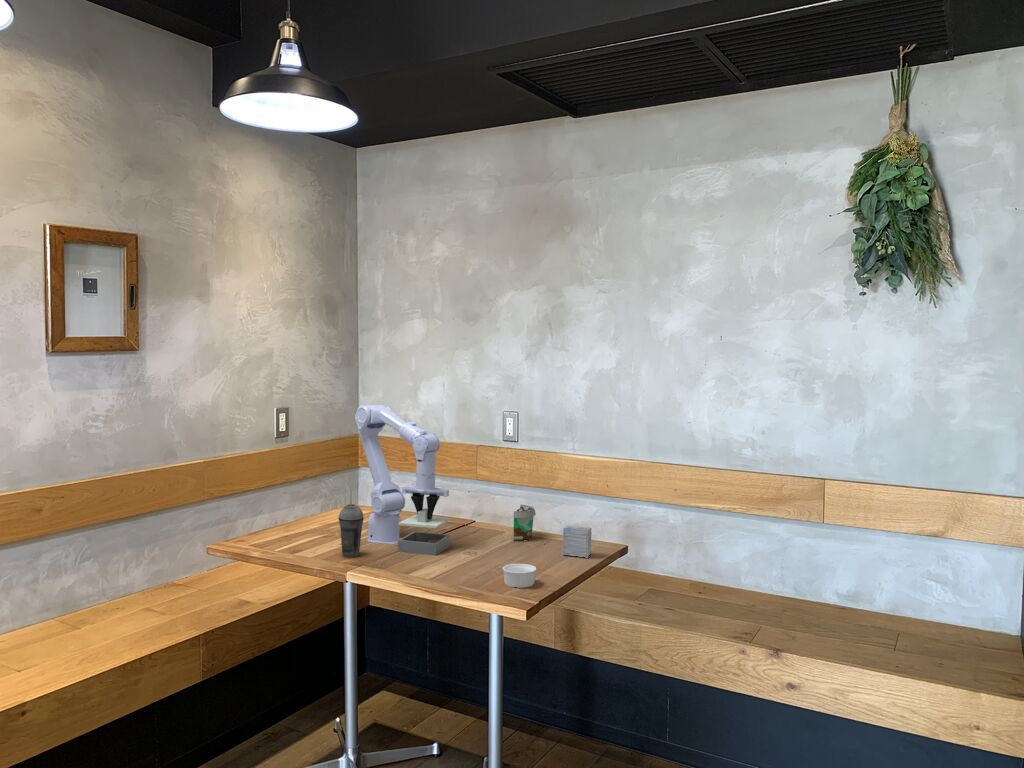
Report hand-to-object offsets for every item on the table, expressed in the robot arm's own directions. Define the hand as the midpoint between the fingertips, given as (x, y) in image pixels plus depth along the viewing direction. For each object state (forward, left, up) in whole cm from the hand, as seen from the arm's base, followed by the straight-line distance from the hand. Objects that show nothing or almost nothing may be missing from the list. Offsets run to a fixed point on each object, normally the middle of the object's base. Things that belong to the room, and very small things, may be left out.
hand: (424, 518), depth 233 cm
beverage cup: (-17, -15, -10) cm, 25 cm away
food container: (+25, +26, -10) cm, 38 cm away
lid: (0, 0, -2) cm, 2 cm away
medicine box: (+45, +11, -10) cm, 47 cm away
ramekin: (+36, -22, -10) cm, 43 cm away
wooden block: (+2, +2, -9) cm, 10 cm away
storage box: (0, 0, -10) cm, 10 cm away
